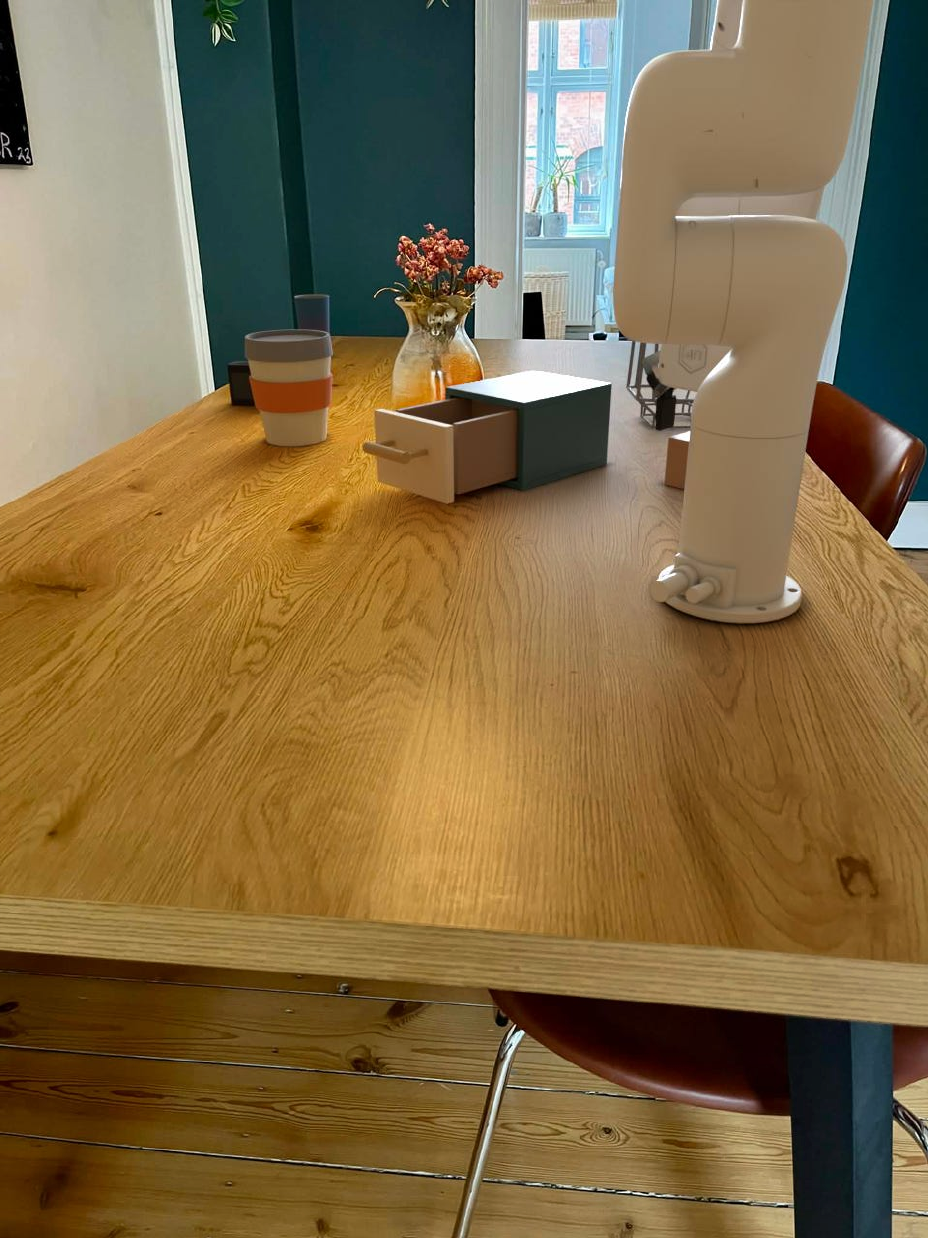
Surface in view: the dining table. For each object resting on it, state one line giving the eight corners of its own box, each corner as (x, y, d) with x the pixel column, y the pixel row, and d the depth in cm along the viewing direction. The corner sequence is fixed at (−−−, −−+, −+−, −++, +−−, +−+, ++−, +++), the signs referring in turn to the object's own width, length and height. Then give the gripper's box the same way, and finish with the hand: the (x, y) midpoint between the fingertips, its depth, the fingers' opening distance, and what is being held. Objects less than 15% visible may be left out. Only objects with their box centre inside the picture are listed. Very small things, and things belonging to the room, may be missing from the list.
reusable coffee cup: (354, 433, 140) (348, 331, 133) (308, 453, 130) (299, 343, 123) (285, 425, 145) (276, 327, 138) (236, 444, 134) (224, 338, 128)
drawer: (419, 512, 102) (417, 433, 99) (350, 488, 111) (345, 415, 107) (537, 476, 115) (539, 405, 111) (467, 458, 123) (467, 391, 119)
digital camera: (227, 406, 158) (223, 365, 155) (240, 400, 163) (235, 359, 160) (284, 408, 156) (281, 366, 153) (295, 401, 161) (292, 361, 158)
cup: (296, 372, 187) (290, 295, 181) (328, 369, 190) (323, 293, 184) (305, 378, 182) (299, 298, 175) (338, 375, 184) (333, 296, 178)
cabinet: (522, 490, 113) (524, 402, 108) (446, 469, 122) (444, 386, 117) (607, 464, 123) (611, 383, 119) (531, 446, 132) (533, 370, 128)
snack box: (721, 482, 115) (726, 434, 113) (694, 492, 112) (699, 443, 109) (690, 475, 118) (695, 429, 116) (664, 484, 115) (668, 437, 112)
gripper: (631, 286, 109) (622, 428, 116) (763, 299, 97) (743, 455, 105) (668, 281, 113) (656, 418, 121) (798, 292, 102) (776, 443, 110)
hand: (697, 435), depth 113 cm, fingers open, 9 cm apart
